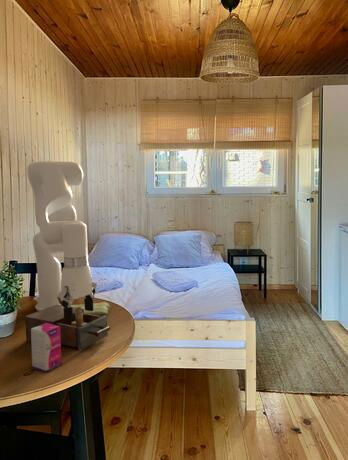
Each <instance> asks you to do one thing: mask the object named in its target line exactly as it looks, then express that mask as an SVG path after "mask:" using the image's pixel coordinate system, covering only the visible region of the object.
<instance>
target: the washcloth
mask: <svg viewBox="0 0 348 460" xmlns="http://www.w3.org/2000/svg"><path fill="white" fill-rule="evenodd" d="M71 307H75V308H77V307H81V308H82V309H84V313H86V314H92V315H98V316H100V317H102V316H107V317H108V315H109V309H110V307H111V306H110V304H109V303H108V302H105V301H104V302H103V301H102V302H98V303H94V302H93V311H87V310H85V304H83V303H81V304H72V305H71Z"/></svg>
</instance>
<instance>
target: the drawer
mask: <svg viewBox="0 0 348 460" xmlns="http://www.w3.org/2000/svg"><path fill="white" fill-rule="evenodd" d="M74 321H75V315H73V320H68V319H64V320H61V321H59V322H57V323H55V325H56V326H60V338H61V345H65V346H69V347H72V348H77V350H79V351H83V350H85V349H86V348H87V347H90V346H91V345H93V344H95V343H97V342H99V341H100V340H103V339H105V338H106V337H108V336H109V331H110V330H111V327H110V325H109V326H108V315H107V316H102V317H100V316H98V315H92V314H86V313H83V322H85V323H87V324H85V325H83V326H81V327H79V328H77V327H76V326H71V323H72V322H74Z"/></svg>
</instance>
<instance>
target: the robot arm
mask: <svg viewBox="0 0 348 460" xmlns="http://www.w3.org/2000/svg"><path fill="white" fill-rule="evenodd" d="M26 170H27V171H26V173H27V178H28V182H29V185H30V187H31V189H32V192H33V197H34V212H35V213H34V214H35V223H36V225H37V226H38V228H39V232H37V233H36V234H35V235H34V236H33V237H32V246H33V250H34V254H35V262H36V275H37V276H36V277H37V290H38V291H37V292H38V294H37V295H35V297H33V301H35V302H37V304H36V305H34V307H35V310H36V311H37V312H38V311H41V310H43V309H46V308H49V307H51V306H54V305H62V307H63V310H64V319H68V320H73V308H72V307H71V305H73V303H74V301H76V300H79V299H81V298H83V297H84V298H83V299H84V301H83V302H84V304H85V310H87V311H93V303H94V298H95V293H96V291H97V290H96V289H97V286H98V285H97V283H96V282H95V281H93V278H92V270H91V266H90V264H89V247H88V246H89V245H88V244H89V243H88V228H87V224H86V223H84V222H83V221H82V220H78V219H77V212H76V211H77V210H76V209H75V207H74V206H73V205H72V204H71V203H72V200H73V193H72V189H71V186H73V187H75V186H81V185H82V183H83V181H84V171H83V169H82V167H81V165H80V164H79V163H77V162H74V161H52V160H51V161H49V160H47V161H34V162H31V163H29V164H28V165H27V169H26ZM59 254H63V267H62V264H61V262H60V261H59V260H58V258H57V257H55V255H59Z"/></svg>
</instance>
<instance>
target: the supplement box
mask: <svg viewBox="0 0 348 460" xmlns="http://www.w3.org/2000/svg"><path fill="white" fill-rule="evenodd" d="M30 343H31V363H32V364H31V365H32V369H35V370H38V371H41V372H43V373H47V372H49V371H51V370H53V369H55V368H57V367H59V366H61V365H62V344H61V338H60V326H56V325H52V324H49V323H45V324H43V325H40V326H37V327H34V328H32V329H31V342H30Z"/></svg>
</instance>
